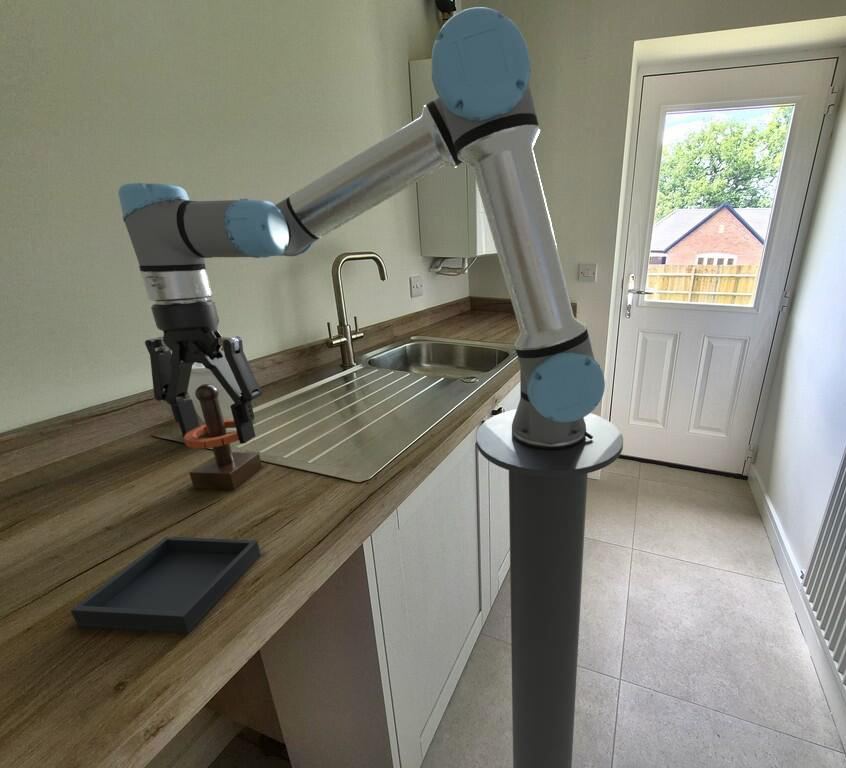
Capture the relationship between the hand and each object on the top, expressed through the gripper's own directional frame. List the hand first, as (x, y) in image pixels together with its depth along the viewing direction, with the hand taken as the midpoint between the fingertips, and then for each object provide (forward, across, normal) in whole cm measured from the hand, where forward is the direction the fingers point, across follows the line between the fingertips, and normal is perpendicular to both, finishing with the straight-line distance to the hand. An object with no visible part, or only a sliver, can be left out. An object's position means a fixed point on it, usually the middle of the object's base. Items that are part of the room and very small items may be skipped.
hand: (220, 439), depth 67 cm
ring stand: (+7, 0, 0) cm, 7 cm away
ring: (-1, 0, 0) cm, 1 cm away
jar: (+7, -16, +20) cm, 27 cm away
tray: (+7, +11, -23) cm, 27 cm away
